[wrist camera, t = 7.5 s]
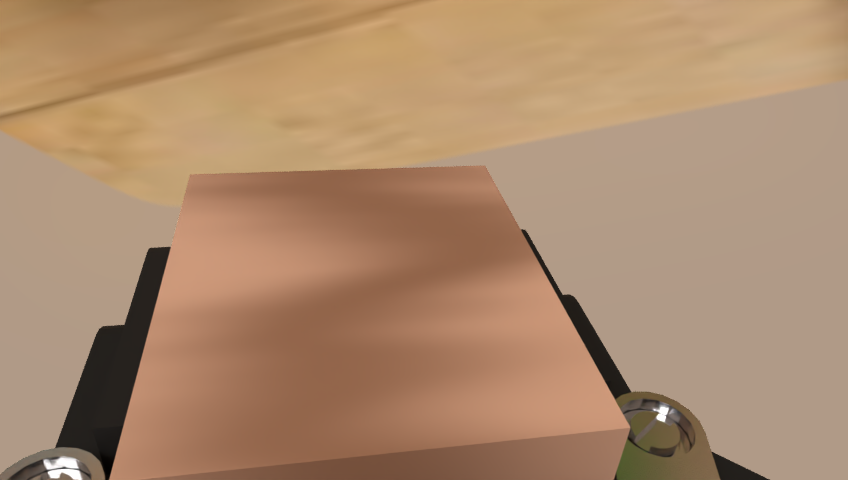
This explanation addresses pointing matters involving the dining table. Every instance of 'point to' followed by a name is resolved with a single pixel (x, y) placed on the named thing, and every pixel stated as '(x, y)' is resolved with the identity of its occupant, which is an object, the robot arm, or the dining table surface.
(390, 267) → the terracotta block
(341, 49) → the dining table surface
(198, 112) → the dining table surface
